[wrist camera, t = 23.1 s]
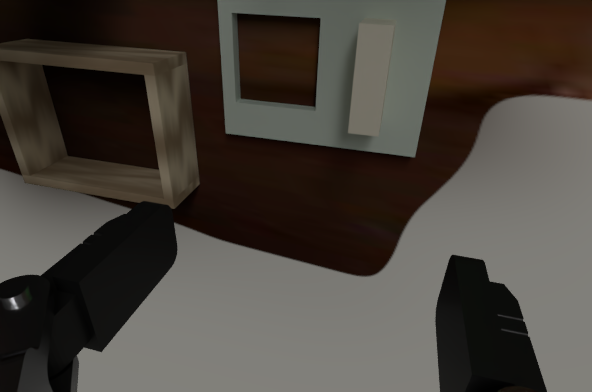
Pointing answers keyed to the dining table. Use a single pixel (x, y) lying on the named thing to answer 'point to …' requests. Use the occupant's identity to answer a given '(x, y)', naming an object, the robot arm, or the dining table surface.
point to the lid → (344, 74)
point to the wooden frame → (85, 172)
